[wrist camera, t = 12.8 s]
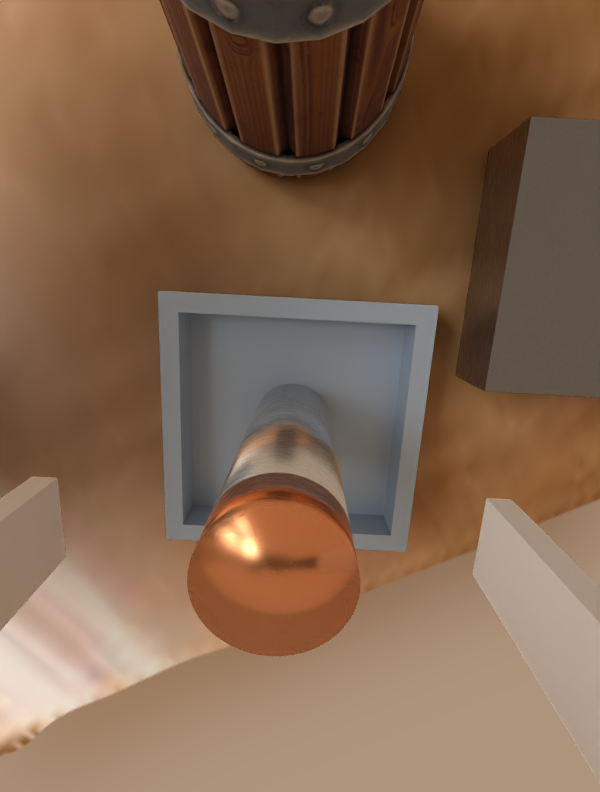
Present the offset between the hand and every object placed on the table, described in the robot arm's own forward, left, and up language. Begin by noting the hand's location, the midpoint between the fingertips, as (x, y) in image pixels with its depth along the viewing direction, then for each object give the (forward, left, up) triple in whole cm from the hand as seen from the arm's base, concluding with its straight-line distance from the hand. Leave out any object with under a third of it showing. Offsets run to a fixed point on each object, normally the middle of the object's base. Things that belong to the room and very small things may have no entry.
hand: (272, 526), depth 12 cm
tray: (0, 0, -13) cm, 13 cm away
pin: (0, 0, -12) cm, 12 cm away
